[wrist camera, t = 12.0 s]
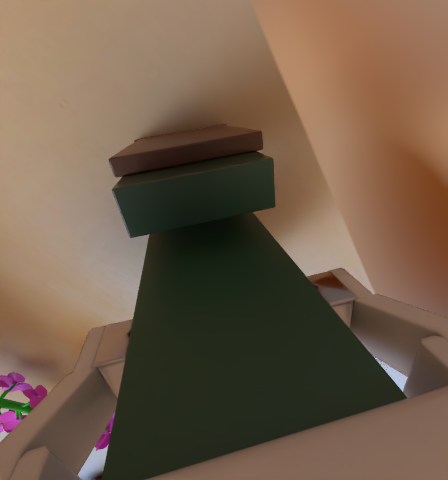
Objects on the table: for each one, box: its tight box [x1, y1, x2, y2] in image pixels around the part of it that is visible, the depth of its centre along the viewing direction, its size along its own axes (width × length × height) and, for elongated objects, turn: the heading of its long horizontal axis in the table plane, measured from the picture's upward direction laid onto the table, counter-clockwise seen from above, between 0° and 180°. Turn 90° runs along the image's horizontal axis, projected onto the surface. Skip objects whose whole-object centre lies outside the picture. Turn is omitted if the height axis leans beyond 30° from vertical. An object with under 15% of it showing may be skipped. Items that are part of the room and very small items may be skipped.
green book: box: [102, 212, 407, 480], centre depth 10 cm, size 6×2×12 cm, turn 98°
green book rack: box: [109, 124, 276, 238], centre depth 16 cm, size 7×14×13 cm, turn 9°
